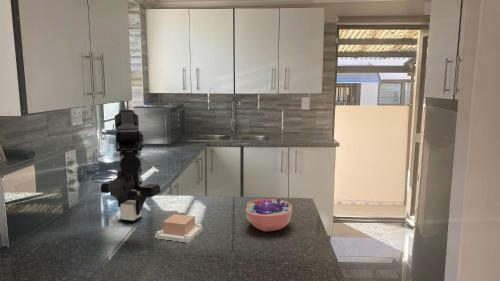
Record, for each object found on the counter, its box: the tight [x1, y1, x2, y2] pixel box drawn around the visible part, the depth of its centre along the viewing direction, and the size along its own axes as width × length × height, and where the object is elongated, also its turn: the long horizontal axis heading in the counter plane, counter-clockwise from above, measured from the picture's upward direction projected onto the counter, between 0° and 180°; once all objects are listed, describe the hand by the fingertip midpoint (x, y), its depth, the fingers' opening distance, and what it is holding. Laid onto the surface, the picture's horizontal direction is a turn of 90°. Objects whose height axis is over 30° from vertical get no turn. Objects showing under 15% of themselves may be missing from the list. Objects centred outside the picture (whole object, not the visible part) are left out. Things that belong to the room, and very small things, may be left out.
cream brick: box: [120, 200, 142, 221], centre depth 120 cm, size 4×4×5 cm
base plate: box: [154, 213, 204, 244], centre depth 127 cm, size 12×12×6 cm
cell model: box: [245, 198, 293, 232], centre depth 134 cm, size 17×20×11 cm
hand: (131, 214), depth 120 cm, fingers closed on cream brick, 4 cm apart
